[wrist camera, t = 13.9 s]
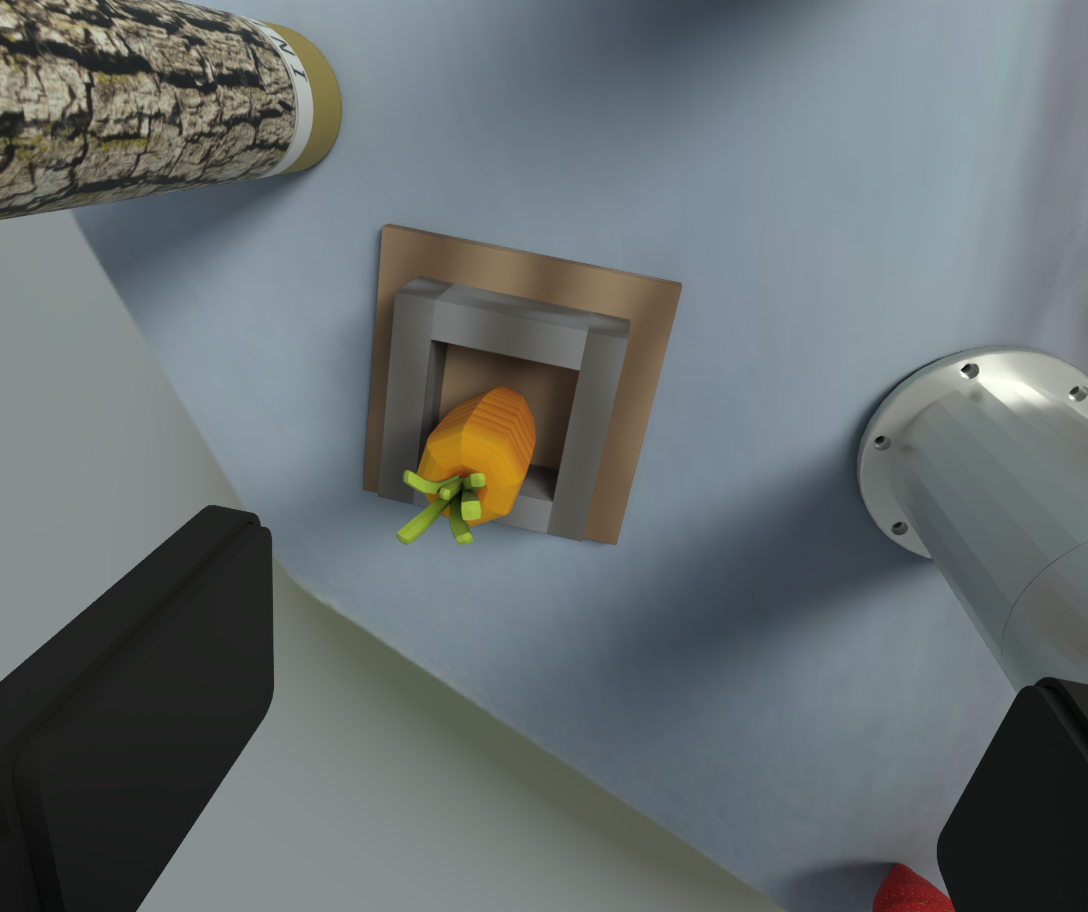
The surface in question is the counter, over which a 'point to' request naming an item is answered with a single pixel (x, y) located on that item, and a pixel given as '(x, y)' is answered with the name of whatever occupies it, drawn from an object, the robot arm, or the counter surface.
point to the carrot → (473, 463)
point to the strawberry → (909, 894)
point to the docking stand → (518, 369)
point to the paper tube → (151, 101)
